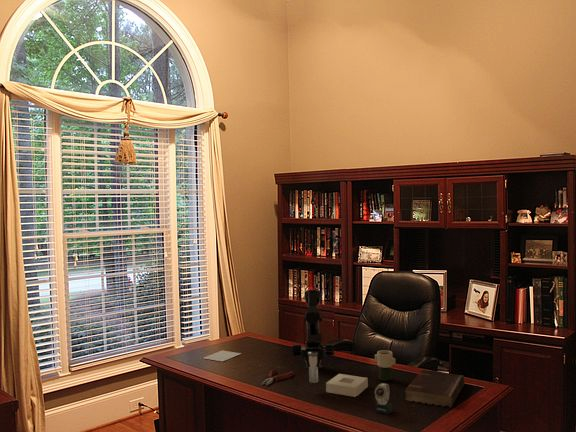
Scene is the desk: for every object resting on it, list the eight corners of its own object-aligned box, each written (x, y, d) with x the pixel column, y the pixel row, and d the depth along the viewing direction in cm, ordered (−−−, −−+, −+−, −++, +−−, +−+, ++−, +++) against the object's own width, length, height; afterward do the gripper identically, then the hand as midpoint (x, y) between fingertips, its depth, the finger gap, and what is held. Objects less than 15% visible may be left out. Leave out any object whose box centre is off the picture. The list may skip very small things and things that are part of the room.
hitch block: (339, 382, 248) (339, 373, 248) (367, 386, 241) (367, 377, 241) (326, 392, 236) (325, 383, 236) (355, 397, 229) (355, 387, 229)
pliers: (252, 385, 248) (252, 380, 248) (274, 372, 266) (273, 367, 266) (274, 389, 243) (274, 383, 243) (294, 375, 261) (294, 370, 261)
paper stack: (255, 356, 294) (255, 355, 294) (226, 369, 272) (226, 368, 272) (222, 351, 306) (222, 350, 306) (192, 363, 285) (192, 362, 285)
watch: (372, 413, 210) (372, 386, 210) (381, 407, 217) (380, 380, 217) (386, 416, 207) (385, 388, 207) (394, 409, 214) (393, 382, 214)
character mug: (399, 380, 248) (399, 352, 248) (391, 384, 243) (391, 356, 243) (379, 375, 256) (378, 348, 255) (371, 379, 250) (370, 351, 250)
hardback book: (451, 408, 215) (451, 396, 214) (405, 401, 223) (405, 389, 223) (464, 385, 240) (464, 374, 240) (422, 380, 249) (422, 369, 249)
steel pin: (311, 379, 239) (310, 350, 239) (320, 380, 237) (319, 351, 237) (306, 382, 235) (305, 352, 235) (316, 383, 233) (315, 354, 233)
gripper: (291, 326, 240) (290, 358, 229) (333, 326, 239) (334, 358, 228) (293, 339, 248) (292, 371, 238) (333, 339, 247) (334, 370, 236)
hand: (313, 367), depth 235 cm, fingers closed on steel pin, 4 cm apart
